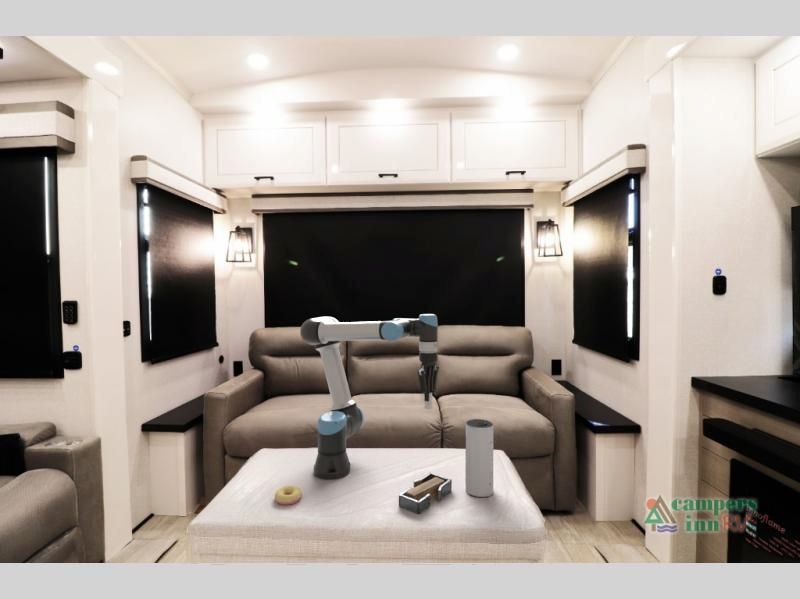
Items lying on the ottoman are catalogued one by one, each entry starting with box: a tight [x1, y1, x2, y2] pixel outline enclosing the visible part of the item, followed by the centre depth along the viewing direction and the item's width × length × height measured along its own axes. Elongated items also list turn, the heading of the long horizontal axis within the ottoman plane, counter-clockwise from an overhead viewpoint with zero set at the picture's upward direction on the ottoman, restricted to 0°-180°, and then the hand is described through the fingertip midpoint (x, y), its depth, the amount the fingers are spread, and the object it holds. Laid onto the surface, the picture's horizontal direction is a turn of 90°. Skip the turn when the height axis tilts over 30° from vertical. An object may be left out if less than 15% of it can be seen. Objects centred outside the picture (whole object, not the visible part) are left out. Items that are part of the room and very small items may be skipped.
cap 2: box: [413, 472, 453, 502], centre depth 152 cm, size 12×10×4 cm
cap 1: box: [398, 486, 431, 515], centre depth 142 cm, size 9×7×4 cm
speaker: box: [465, 418, 494, 498], centre depth 153 cm, size 11×10×26 cm
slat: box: [406, 477, 444, 502], centre depth 147 cm, size 4×16×5 cm, turn 134°
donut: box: [274, 485, 303, 506], centre depth 147 cm, size 10×5×9 cm
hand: (428, 408), depth 169 cm, fingers closed
